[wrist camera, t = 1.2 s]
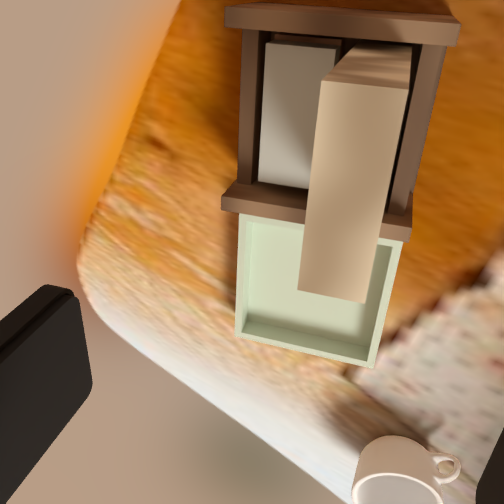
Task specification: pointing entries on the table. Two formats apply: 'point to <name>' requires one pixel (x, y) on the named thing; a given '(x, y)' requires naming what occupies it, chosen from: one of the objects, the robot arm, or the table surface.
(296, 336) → the tray
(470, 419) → the table surface
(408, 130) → the rack
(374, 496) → the teacup
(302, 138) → the offcut top
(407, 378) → the table surface
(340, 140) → the block
